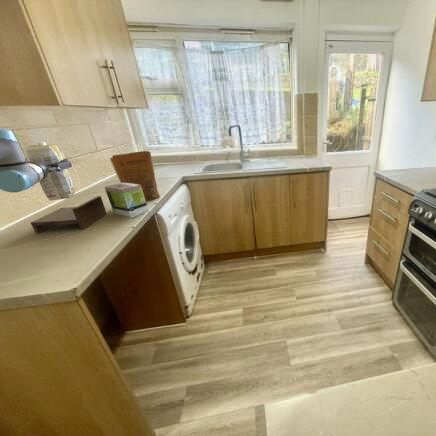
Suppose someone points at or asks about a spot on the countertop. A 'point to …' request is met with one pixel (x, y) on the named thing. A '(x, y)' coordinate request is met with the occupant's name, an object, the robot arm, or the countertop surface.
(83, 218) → the shelf
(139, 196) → the tea box
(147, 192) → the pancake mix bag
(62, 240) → the countertop surface
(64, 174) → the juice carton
